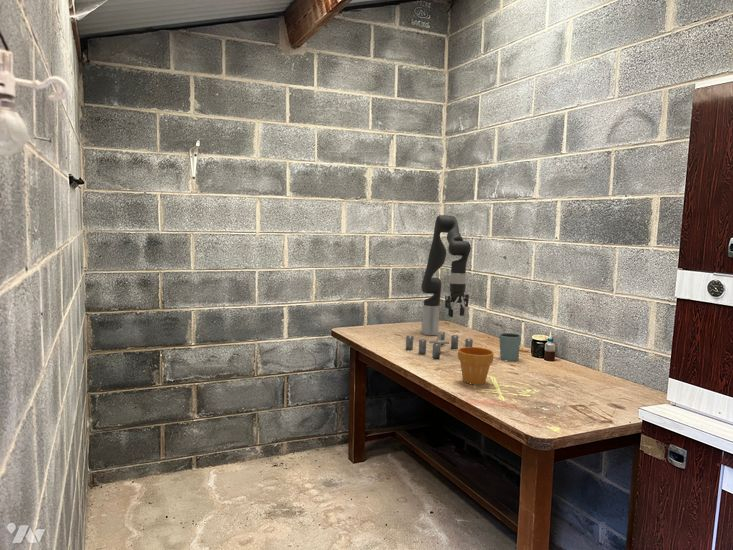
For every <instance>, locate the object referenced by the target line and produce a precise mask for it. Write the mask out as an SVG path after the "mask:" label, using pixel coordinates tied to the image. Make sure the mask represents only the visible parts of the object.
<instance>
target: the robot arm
mask: <svg viewBox="0 0 733 550" xmlns="http://www.w3.org/2000/svg"><path fill="white" fill-rule="evenodd" d="M433 229H434V230H433V235H432V241H431V246H430V249H429V254H428V256H427V257H428V259H427V264H426V268H425V271H424V274H423V279H422V282H421V291H422V293H424V294H426V295H427V294H428V295H429V294H432V296H430V297H428V298H426V299H424V300H423V309H422V310H423V312H422V314H423V316H422V317H421V332H420V333H421V334H422V335H425V336H430V335H435V336H438V332H439V330H440V329H439V326H440V322H439V321H440V302H441V293H442V292H441V291H442V280H441V278H440V277H433V276H434V275H435V273H436V272H437V271H438V270H440V269H441V267H442V266H444V264H445V260H446V258H447V249H446V247H445V244H444V243H443V241H442V237H441V233H443V234H444V233H445V234H446V240H447V243H448V253H449V254H450V255H451V256H459V257H461V258H459V259H457V260H453V261H451V263H450V264H451V265H450V268H451V269H450V276H449V293H450V294H449V295H445V296H444V306H445V308H446V309H448V311H447V312H448V314H447V315H448V317H449V318H453V317H454V307H455V306H456V305H457V304H458V306H459V316H461V317H464V316H465V311H466V310H465V309H466V308H467V307H469V298H470V295H469V294H466V293H465V292H466V287H467V286H466V284H467V262H468V259H469V256H470V253H471V250H472V246H471V244H470V242H469V241H466V240H464V239H463V237H462V235H461V233H460V228H459V223H458V220H457V217H456V216H453V215H448V214H438V215H437V216H436V219H435V222H434V228H433Z"/></svg>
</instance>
